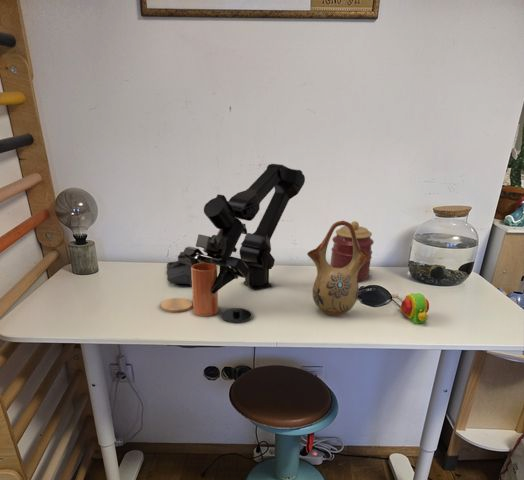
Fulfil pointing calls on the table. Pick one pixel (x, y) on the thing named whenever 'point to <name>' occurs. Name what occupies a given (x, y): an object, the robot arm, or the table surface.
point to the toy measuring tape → (413, 306)
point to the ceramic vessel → (337, 276)
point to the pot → (204, 289)
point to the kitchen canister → (351, 248)
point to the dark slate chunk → (179, 270)
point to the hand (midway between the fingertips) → (201, 289)
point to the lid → (236, 315)
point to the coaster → (176, 305)
